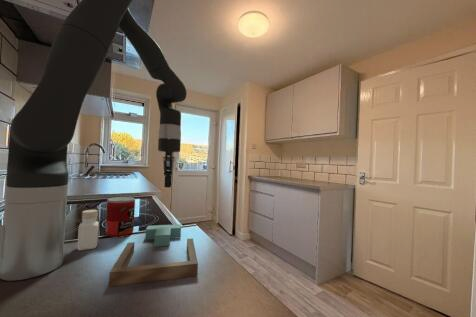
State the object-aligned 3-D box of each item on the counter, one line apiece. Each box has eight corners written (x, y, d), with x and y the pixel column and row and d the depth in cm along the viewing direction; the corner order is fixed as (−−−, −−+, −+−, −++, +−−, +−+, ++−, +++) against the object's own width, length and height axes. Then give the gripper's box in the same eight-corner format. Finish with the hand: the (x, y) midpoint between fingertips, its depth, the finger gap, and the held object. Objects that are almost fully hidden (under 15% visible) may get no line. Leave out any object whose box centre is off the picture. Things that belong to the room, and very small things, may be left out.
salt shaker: (97, 243, 56) (99, 208, 56) (96, 249, 53) (98, 212, 53) (79, 245, 54) (81, 209, 54) (76, 251, 51) (79, 213, 51)
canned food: (121, 239, 60) (123, 201, 60) (98, 236, 61) (100, 199, 62) (138, 231, 67) (140, 197, 68) (118, 228, 69) (120, 196, 69)
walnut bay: (108, 286, 37) (109, 272, 37) (127, 252, 51) (127, 242, 51) (197, 275, 42) (197, 263, 42) (192, 247, 56) (192, 238, 56)
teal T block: (142, 247, 54) (142, 236, 54) (147, 235, 64) (147, 225, 64) (180, 244, 57) (181, 233, 57) (180, 233, 67) (180, 224, 67)
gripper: (160, 139, 78) (158, 185, 77) (156, 135, 65) (154, 189, 65) (180, 140, 80) (178, 185, 79) (180, 136, 67) (178, 189, 67)
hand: (167, 187), depth 72 cm, fingers closed
